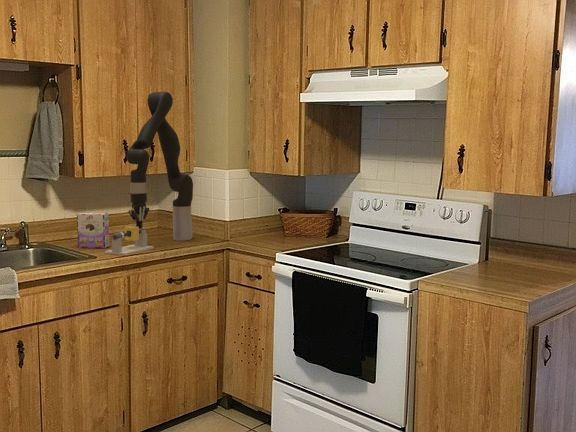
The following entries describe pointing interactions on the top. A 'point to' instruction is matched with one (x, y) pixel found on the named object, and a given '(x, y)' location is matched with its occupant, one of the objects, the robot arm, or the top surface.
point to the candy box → (93, 230)
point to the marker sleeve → (132, 233)
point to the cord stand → (131, 249)
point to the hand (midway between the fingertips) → (139, 228)
